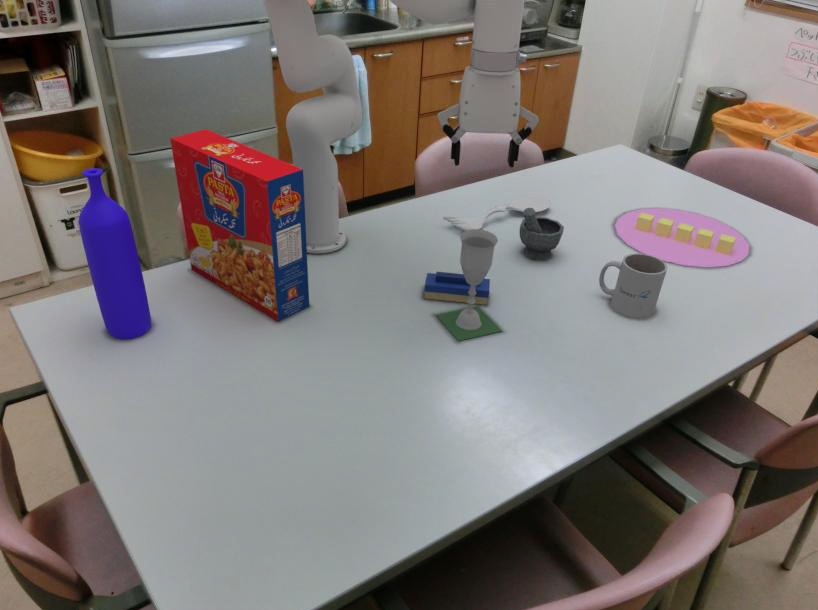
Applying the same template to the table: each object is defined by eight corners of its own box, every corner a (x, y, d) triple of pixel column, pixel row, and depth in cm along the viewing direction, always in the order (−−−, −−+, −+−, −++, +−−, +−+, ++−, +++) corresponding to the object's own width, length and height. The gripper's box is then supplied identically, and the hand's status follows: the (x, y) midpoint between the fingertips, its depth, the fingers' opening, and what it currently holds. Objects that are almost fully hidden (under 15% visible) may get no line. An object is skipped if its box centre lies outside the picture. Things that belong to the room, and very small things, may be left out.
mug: (661, 308, 142) (675, 265, 135) (639, 323, 137) (653, 279, 131) (610, 284, 148) (621, 242, 142) (588, 298, 143) (598, 255, 137)
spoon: (440, 227, 167) (442, 214, 165) (531, 199, 183) (533, 186, 181) (465, 241, 162) (467, 228, 159) (556, 211, 178) (559, 198, 176)
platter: (734, 281, 152) (739, 268, 150) (596, 241, 165) (599, 228, 163) (760, 231, 174) (765, 218, 172) (637, 198, 187) (640, 187, 185)
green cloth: (458, 341, 129) (458, 340, 129) (435, 315, 135) (436, 314, 135) (501, 331, 132) (501, 330, 132) (478, 306, 139) (478, 306, 139)
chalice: (448, 312, 136) (457, 229, 125) (482, 312, 137) (493, 229, 126) (453, 333, 130) (463, 247, 119) (489, 333, 131) (501, 247, 120)
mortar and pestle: (538, 240, 164) (547, 192, 157) (566, 256, 158) (577, 207, 151) (503, 251, 159) (510, 202, 151) (530, 268, 153) (539, 218, 145)
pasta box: (191, 270, 145) (170, 138, 128) (222, 257, 150) (205, 129, 133) (278, 322, 131) (266, 181, 114) (309, 306, 136) (303, 169, 119)
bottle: (162, 321, 129) (131, 166, 111) (134, 345, 123) (96, 184, 105) (125, 312, 131) (88, 158, 113) (96, 334, 125) (52, 175, 107)
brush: (423, 299, 140) (425, 278, 137) (426, 286, 144) (427, 266, 141) (487, 305, 139) (490, 285, 136) (487, 293, 143) (490, 272, 140)
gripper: (543, 56, 115) (528, 158, 125) (439, 53, 114) (434, 155, 125) (550, 67, 109) (535, 173, 119) (441, 64, 108) (435, 170, 119)
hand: (483, 163), depth 122 cm, fingers open, 9 cm apart
